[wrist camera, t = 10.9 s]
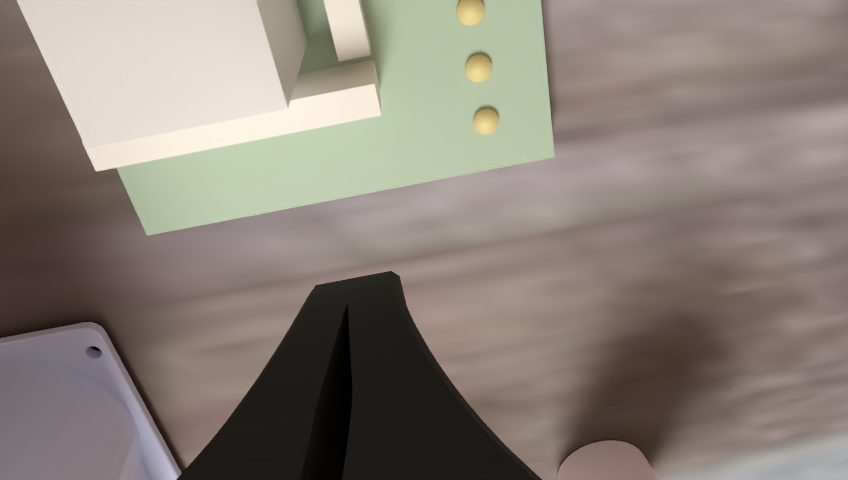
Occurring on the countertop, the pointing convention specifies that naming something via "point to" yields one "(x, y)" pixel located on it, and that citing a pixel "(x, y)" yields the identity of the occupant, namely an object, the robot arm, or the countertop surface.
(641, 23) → the countertop surface
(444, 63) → the board
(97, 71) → the white block
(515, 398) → the countertop surface
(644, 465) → the smoothie
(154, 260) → the countertop surface
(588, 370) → the countertop surface
